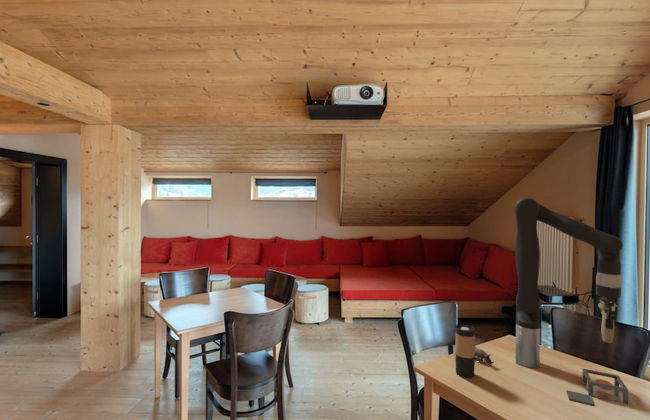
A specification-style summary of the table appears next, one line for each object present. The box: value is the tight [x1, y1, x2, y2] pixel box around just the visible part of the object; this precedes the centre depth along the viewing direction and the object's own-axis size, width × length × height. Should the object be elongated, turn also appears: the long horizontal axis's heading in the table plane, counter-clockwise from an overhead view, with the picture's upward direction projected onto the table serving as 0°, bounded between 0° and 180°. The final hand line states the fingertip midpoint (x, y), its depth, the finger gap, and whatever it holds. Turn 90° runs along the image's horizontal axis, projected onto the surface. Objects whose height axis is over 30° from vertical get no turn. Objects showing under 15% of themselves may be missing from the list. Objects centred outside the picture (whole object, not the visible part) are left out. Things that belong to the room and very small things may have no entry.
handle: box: [597, 302, 620, 344], centre depth 126 cm, size 5×6×15 cm
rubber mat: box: [566, 389, 595, 406], centre depth 117 cm, size 7×6×1 cm
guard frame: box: [581, 368, 629, 405], centre depth 120 cm, size 11×11×5 cm
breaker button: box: [594, 378, 614, 390], centre depth 120 cm, size 5×5×1 cm
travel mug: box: [454, 323, 476, 379], centre depth 133 cm, size 8×8×20 cm
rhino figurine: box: [475, 346, 495, 366], centre depth 144 cm, size 4×14×6 cm, turn 26°
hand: (607, 326), depth 127 cm, fingers closed on handle, 4 cm apart
